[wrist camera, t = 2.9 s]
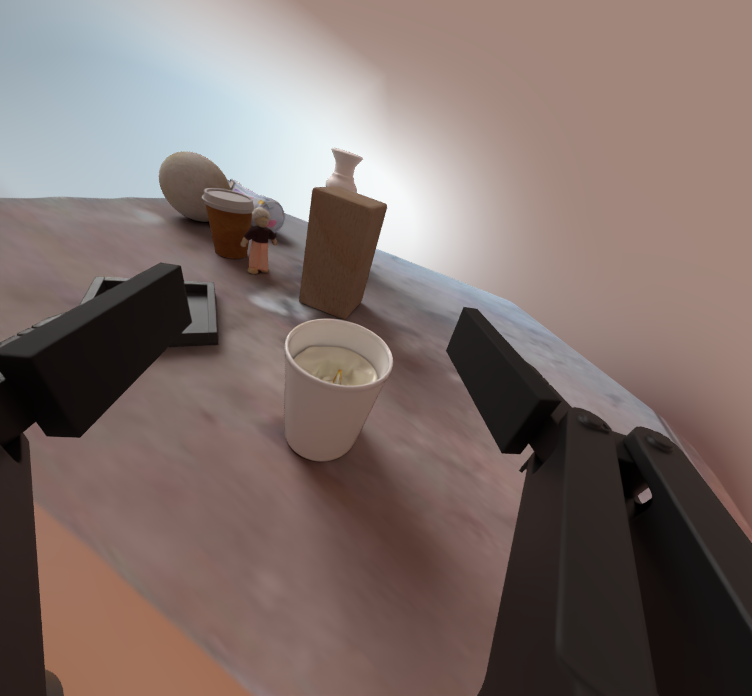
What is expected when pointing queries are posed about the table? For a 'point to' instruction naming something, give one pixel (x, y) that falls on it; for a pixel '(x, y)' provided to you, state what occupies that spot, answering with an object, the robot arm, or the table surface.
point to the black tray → (199, 305)
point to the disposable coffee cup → (228, 220)
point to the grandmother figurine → (259, 241)
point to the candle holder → (331, 385)
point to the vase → (344, 170)
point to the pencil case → (262, 205)
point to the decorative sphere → (190, 182)
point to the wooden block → (339, 249)
